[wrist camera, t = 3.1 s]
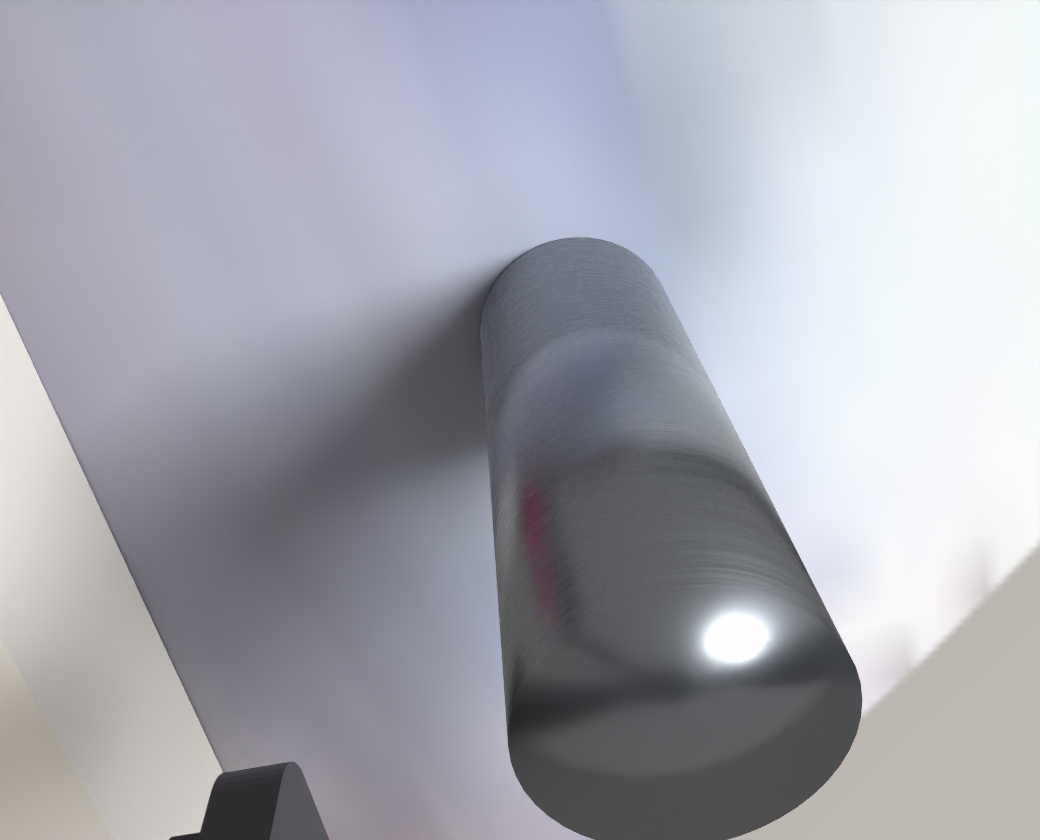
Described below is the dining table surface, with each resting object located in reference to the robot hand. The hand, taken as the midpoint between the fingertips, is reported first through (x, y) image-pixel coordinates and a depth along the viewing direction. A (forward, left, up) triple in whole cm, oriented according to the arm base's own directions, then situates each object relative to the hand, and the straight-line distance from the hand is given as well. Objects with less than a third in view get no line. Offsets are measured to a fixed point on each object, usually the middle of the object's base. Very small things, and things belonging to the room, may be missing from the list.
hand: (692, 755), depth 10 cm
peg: (0, 0, -10) cm, 10 cm away
